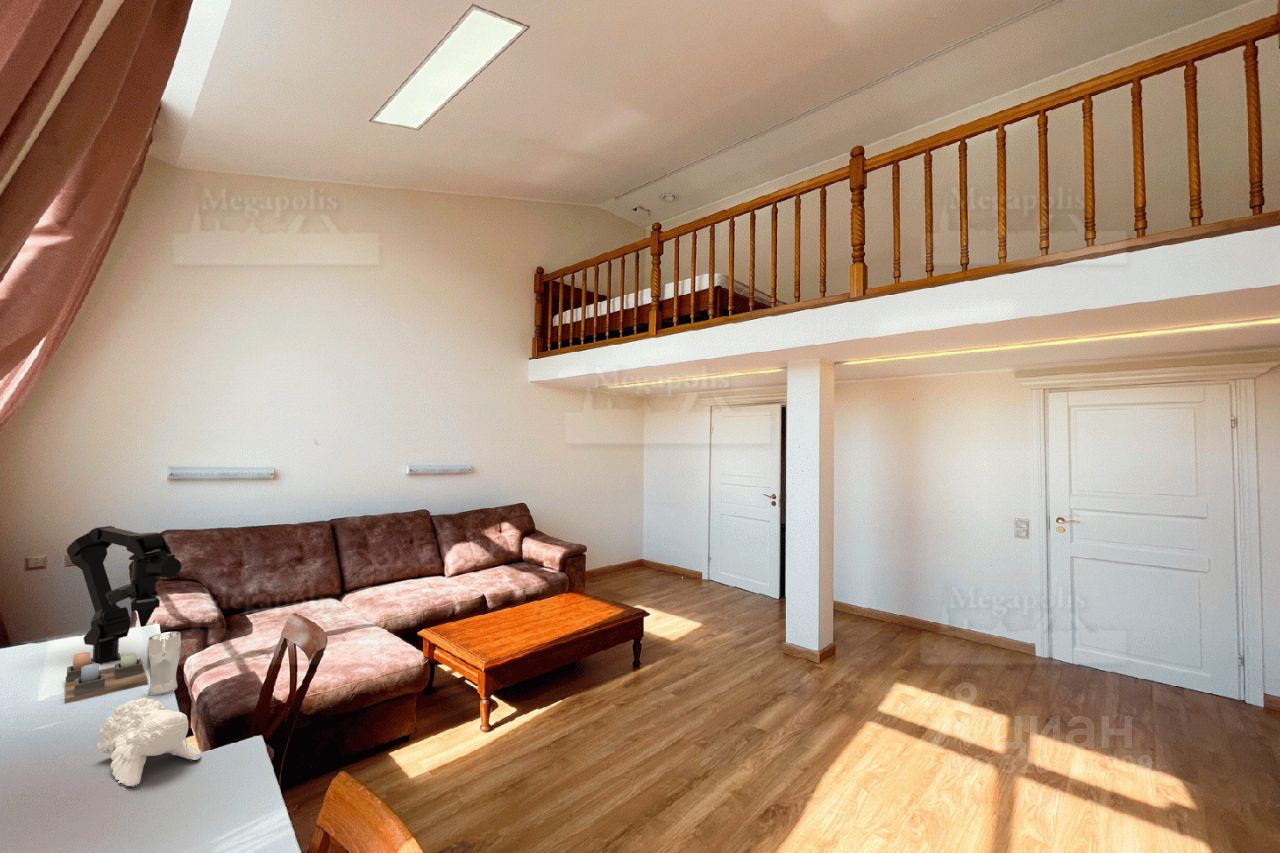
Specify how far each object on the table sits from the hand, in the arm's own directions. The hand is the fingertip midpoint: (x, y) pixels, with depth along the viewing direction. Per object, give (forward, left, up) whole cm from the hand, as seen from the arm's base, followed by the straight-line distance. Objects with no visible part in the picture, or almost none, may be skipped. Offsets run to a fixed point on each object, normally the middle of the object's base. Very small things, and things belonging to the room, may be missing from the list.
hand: (142, 626), depth 166 cm
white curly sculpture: (+69, -3, -12) cm, 70 cm away
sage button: (+9, -3, -10) cm, 14 cm away
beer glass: (+27, +3, -12) cm, 30 cm away
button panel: (+9, -8, -12) cm, 17 cm away
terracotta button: (+3, -13, -9) cm, 16 cm away
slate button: (+16, -11, -9) cm, 21 cm away
